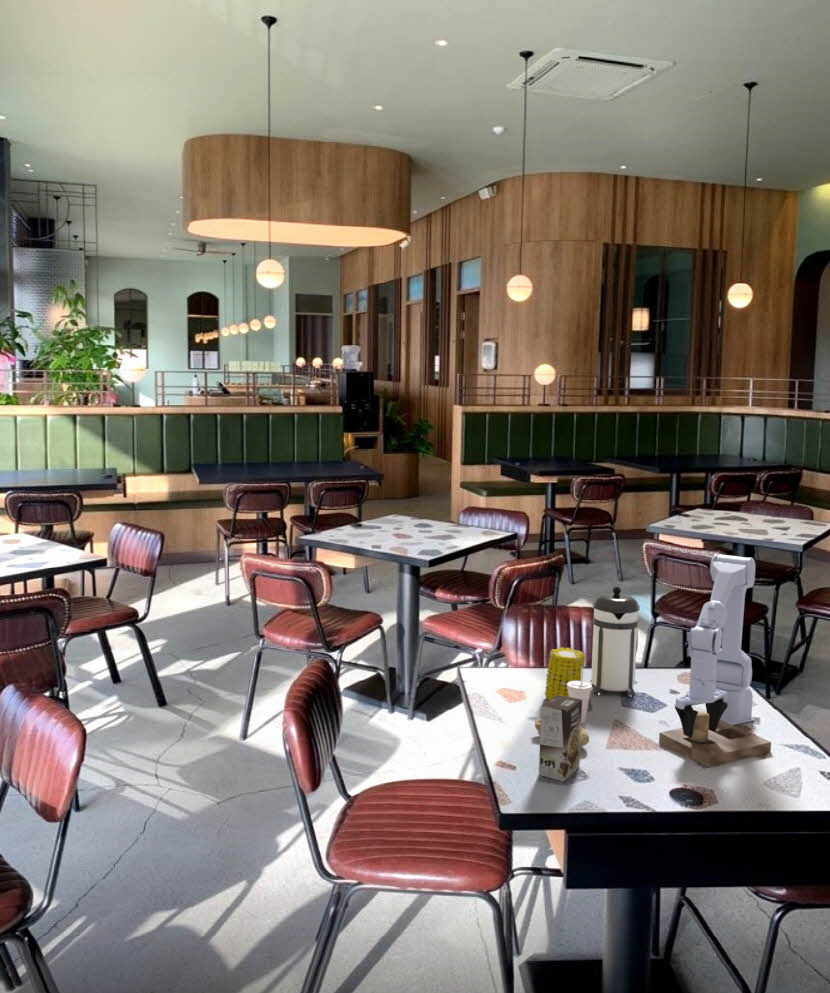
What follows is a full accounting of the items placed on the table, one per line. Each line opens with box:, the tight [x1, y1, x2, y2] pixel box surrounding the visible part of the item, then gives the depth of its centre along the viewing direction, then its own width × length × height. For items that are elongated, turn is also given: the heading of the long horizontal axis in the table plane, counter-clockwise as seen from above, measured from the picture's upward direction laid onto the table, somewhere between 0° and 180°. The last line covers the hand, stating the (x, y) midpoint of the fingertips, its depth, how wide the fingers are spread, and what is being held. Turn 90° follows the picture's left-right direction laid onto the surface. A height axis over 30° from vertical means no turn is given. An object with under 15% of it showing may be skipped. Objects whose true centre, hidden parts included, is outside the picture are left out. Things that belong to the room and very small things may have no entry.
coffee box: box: [538, 695, 582, 782], centre depth 202 cm, size 9×6×16 cm
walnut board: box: [658, 720, 772, 768], centre depth 218 cm, size 20×16×2 cm
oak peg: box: [690, 710, 709, 747], centre depth 216 cm, size 4×4×9 cm
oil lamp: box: [534, 718, 590, 748], centre depth 219 cm, size 11×14×5 cm
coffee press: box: [590, 586, 641, 698], centre depth 257 cm, size 17×16×30 cm
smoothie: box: [567, 667, 593, 724], centre depth 233 cm, size 6×6×14 cm
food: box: [544, 646, 585, 701], centre depth 248 cm, size 15×12×10 cm
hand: (699, 733), depth 215 cm, fingers open, 7 cm apart
